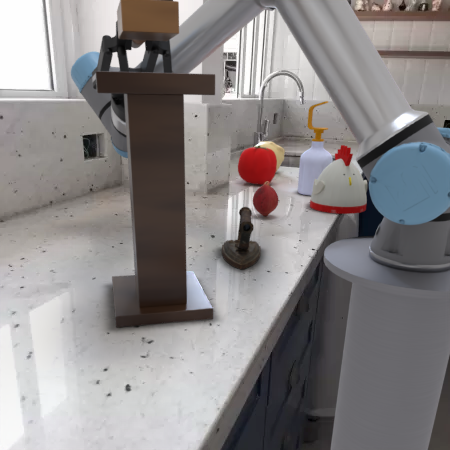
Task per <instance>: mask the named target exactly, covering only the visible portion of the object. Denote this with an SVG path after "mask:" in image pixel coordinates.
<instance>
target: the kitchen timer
mask: <svg viewBox="0 0 450 450" xmlns="http://www.w3.org/2000/svg"><path fill="white" fill-rule="evenodd" d="M351 151H352V147H348V145H345V144H341V145H340V148H338V149H337V153H334V161H332V163H330V164H329V165H328V166H327V167H326V168H325V169H324V170H323V171H322V173H321V174H320V176H319V177H318V179H315V180H314V184H313V192H312V195H311V196H310V201H309V207H310V208H311V209H312V210H315V211H318V212H322V213H328V214H338V215H339V214H341V215H349V214H350V215H351V214H353V215H354V214H360V213H364V212H365V211H366V210H367V201H368V199H367V192H368V179H364V178H363V176H362V173H361V171H360V170H359V168H358V167H357V166H356V164H354V163H353V162H352V159H353V156H354V153H351Z"/></svg>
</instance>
